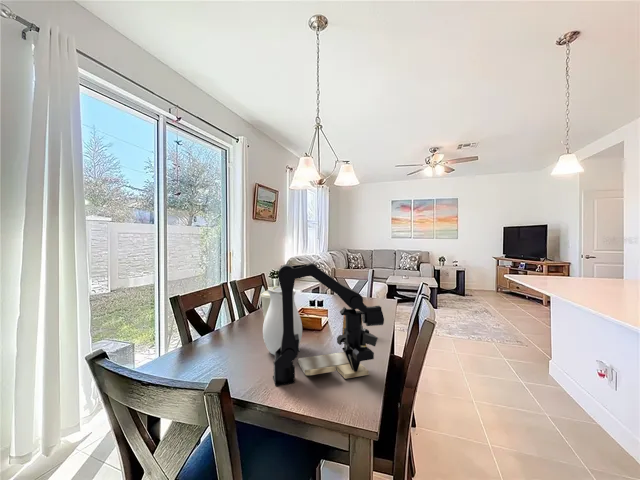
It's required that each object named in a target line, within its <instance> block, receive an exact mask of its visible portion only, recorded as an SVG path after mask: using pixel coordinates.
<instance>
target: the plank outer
mask: <svg viewBox="0 0 640 480" xmlns="http://www.w3.org/2000/svg"><path fill="white" fill-rule="evenodd" d="M336 372H338V373H339V374H340V375H341V376H342V377H343V378H344V379H345V380H346V379H347V380H348V379H352V378H357V377H363V376H369V375H370V374H369V369H368V368H366V367H365V365H363V364H361V363H360V364H359V367H358V371H357V372H354V370H352V369H351V366H350V364H346V365H339V366H337V369H336Z"/></svg>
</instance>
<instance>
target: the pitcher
mask: <svg viewBox="0 0 640 480" xmlns="http://www.w3.org/2000/svg"><path fill="white" fill-rule="evenodd" d="M278 287H279V288H276V289H275V290H273V289H267V290H266V291H268V293H269V294H270V305H269V308H268V311H267V314H266V316H265V319H264V318H263V320H264V321H263V325H262V337H263V341H264V345H265V347H266V349H267V350H268V352H269V354H271V355H272V356H275V352H276V351H277V350H278V349H279V348H280V347H281V341H282V335H283V304H282V290H281V286H278ZM271 290H273V291H271ZM295 295H296V289H295V287H294V288H293V324H294V334H298V335H299V345H300V343H301V341H302V336H303V324H302V323H303V322H302V318H301V315H300V313H299V310H298V308H297V305H296V302H295Z"/></svg>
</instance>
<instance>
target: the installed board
mask: <svg viewBox="0 0 640 480" xmlns="http://www.w3.org/2000/svg"><path fill="white" fill-rule="evenodd" d="M297 362H298V365H299V367H300V369H301V371H302V372H303V374H304V375H305V370H312V369H318V368H324V367H333V366H335V367H336V370H337V366H339V365H346V364H349V362H348V360H347V357H346V355H345V353H344V351H343V352H335V353H329V354H328V353H327V354H321V355H314V356H307V357H306V356H305V357H299V358H297Z"/></svg>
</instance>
